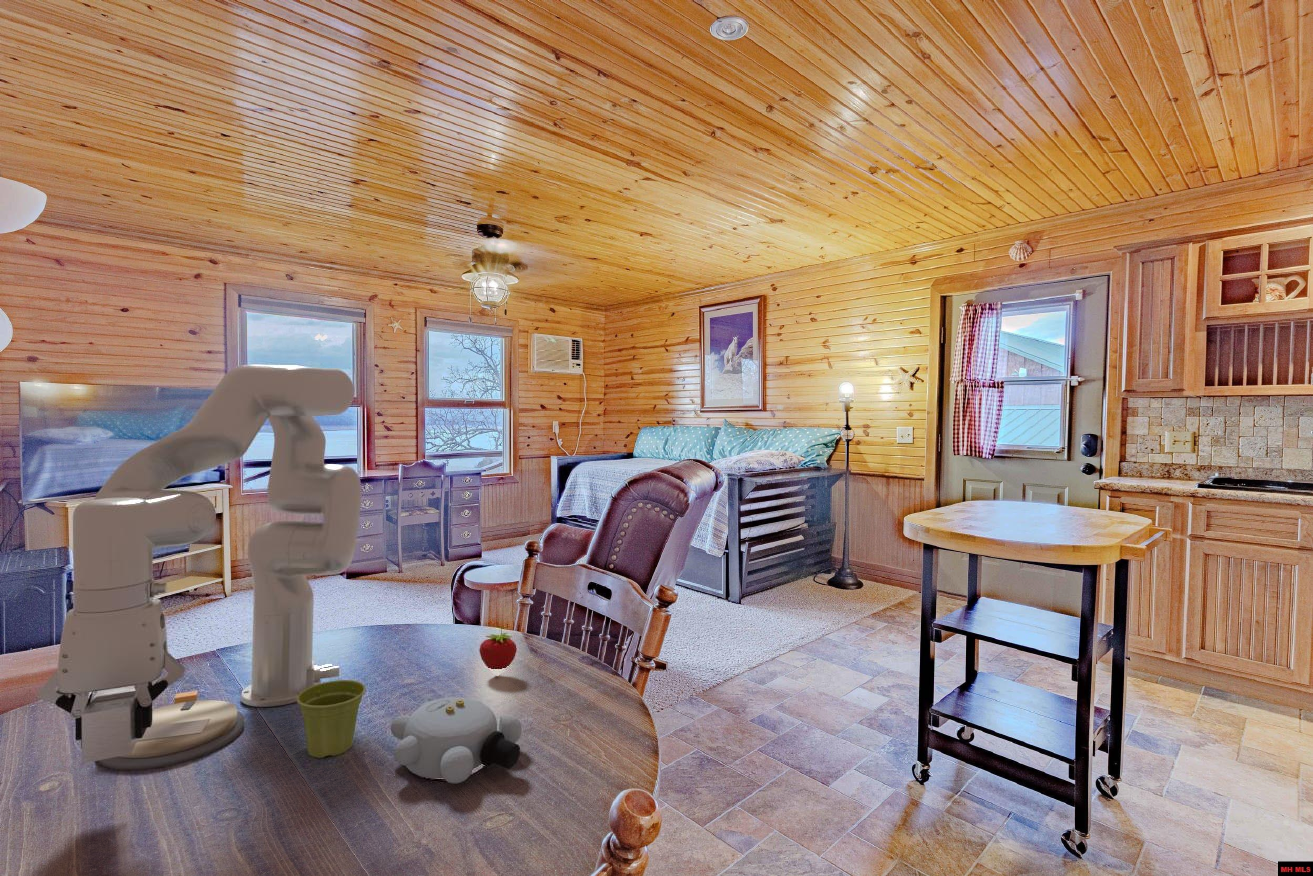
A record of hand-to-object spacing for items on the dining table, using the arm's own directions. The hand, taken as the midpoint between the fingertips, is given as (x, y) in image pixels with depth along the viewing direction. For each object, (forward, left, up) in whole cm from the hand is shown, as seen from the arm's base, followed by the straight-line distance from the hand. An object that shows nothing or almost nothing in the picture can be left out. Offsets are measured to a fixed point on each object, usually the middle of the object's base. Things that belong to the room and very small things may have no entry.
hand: (115, 737), depth 78 cm
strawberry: (-55, -21, -9) cm, 60 cm away
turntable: (-4, -18, -8) cm, 20 cm away
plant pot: (-25, -4, -9) cm, 27 cm away
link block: (0, 0, -1) cm, 1 cm away
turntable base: (-4, -20, -9) cm, 22 cm away
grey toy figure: (-41, +8, -9) cm, 43 cm away
